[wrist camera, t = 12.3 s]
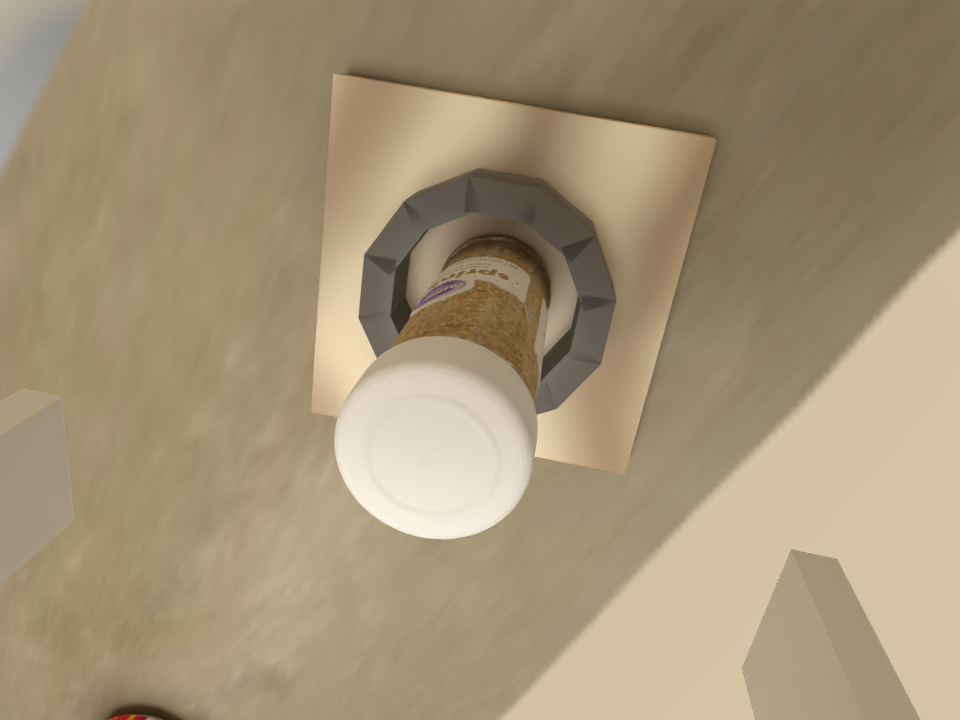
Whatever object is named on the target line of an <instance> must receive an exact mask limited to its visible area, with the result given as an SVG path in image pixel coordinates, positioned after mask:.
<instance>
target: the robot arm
mask: <svg viewBox="0 0 960 720" xmlns="http://www.w3.org/2000/svg"><path fill="white" fill-rule="evenodd" d="M74 520H75V516H74V506H73V496H72V486H71V476H70V467H69V457H68V447H67V437H66V427H65V417H64V407H63V397H62V396H57V395H52V394H48V393H43V392H38V391H33V390H28V389H24V388H23V389H21V390H19V391H18V392H16V393H14V394H12V395H10V396H9V397H7V398H5V399H3V400H2V401H0V585H1V584H2V583H3V582H5V581H6V580H7V579H8V578H9V577H10V576H11V575H13V574H14V573H15V572H16V571H17V570H18V569H19V568H21V567H22V566H23V565H24V564H25V563H26V562H27V561H29V560H30V559H31V558H32V557H33V556H34V555H35V554H37V553H38V552H39V551H40V550H41V549H42V548H43V547H45V546H46V545H47V544H48V543H49V542H50V541H51V540H53V539H54V538H55V537H56V536H57V535H58V534H59V533H61V532H62V531H63V530H64V529H65V528H66V527H67V526H68V525H70V524H71V523H72V522H73V521H74ZM742 670H743V674H744V678H745V682H746V685H747V689H748V693H749V697H750V701H751V704H752V708H753V712H754V716H755V720H920V718H919V716H918V714H917V712H916V711H915V709H914V707H913V705H912V703H911V701H910V699H909V697H908V695H907V693H906V691H905V689H904V687H903V685H902V683H901V682H900V680H899V678H898V676H897V674H896V672H895V670H894V668H893V666H892V664H891V662H890V660H889V658H888V656H887V655H886V653H885V651H884V649H883V647H882V645H881V643H880V641H879V639H878V637H877V635H876V633H875V631H874V629H873V627H872V626H871V624H870V622H869V620H868V618H867V616H866V614H865V612H864V611H863V608H862V606H861V604H860V602H859V600H858V599H857V597H856V595H855V593H854V591H853V589H852V587H851V585H850V583H849V581H848V579H847V577H846V576H845V573H844V572H843V570H842V568H841V566H840V564H839V562H838V560H837V559H834V558H829V557H825V556H820V555H815V554H810V553H806V552H800V551H796V550H791V551H790V553H789V556H788V558H787V561H786V563H785V565H784V568H783V570H782V573H781V575H780V578H779V580H778V583H777V585H776V587H775V590H774V592H773V594H772V597H771V599H770V602H769V604H768V607H767V609H766V611H765V614H764V616H763V619H762V621H761V624H760V626H759V628H758V631H757V633H756V636H755V638H754V640H753V643H752V645H751V648H750V650H749V652H748V655H747V657H746V660H745V662H744V664H743V667H742Z"/></svg>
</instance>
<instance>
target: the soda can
mask: <svg viewBox="0 0 960 720" xmlns="http://www.w3.org/2000/svg"><path fill="white" fill-rule="evenodd" d="M108 720H164V719H161V718H158V717H155V716H151V715H119V716H115V717H112V718H110V719H108Z"/></svg>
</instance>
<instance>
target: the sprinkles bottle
mask: <svg viewBox="0 0 960 720" xmlns="http://www.w3.org/2000/svg"><path fill="white" fill-rule="evenodd" d="M550 301H551V281H550V278H549V275H548V272H547V269H546V267H545V265H544V263H543V261H542V260H541V258H540V257H539V256H538V255H537V254H536V253H535V252H534V251H533V250H532V249H530V248H529V247H528V246H526V245H524V244H522V243H521V242H519V241H516V240H514V239H513V238H508V237H504V236H486V237H479V238H475V239H471V240H469V241H468V242H466V243H464V244H461V245H460V246H459V247H458V248H457V249H456V250H455V251H454V252H453V253H452V254H451V255H450V256H449V258H448V259H447V260H446V262H445V264H444V266H443V268H442V270H441V273H440V274H439V275H438V276H437V277H436V279H435V280H434V281H433V282H432V284H431V285H430V287H429V288H428V290H427V291H426V293H425V294H424V296H423V297H422V298H421V300H420V301H419V303H418V304H417V306H416V307H415V309H414V310H413V311H412V313H411V315H410V318H409V320H408V322H407V323H406V325H405V326H404V328H403V330H402V331H401V332H400V334H399V336H398V337H397V339H396V340H395V342H394V343H393V345H392V347H391V348H390V349H389V350H387V351H386V352H384V353H383V354H381V355H380V356H379V357H378V358H377V359H376V360H375V361H374V362H373V363H372V364H371V365H370V366H369V367H368V368H367V369H366V371H365V372H364V373H363V375H362V376H361V378H360V379H359V380H358V382H357V383H356V385H355V386H354V388H353V389H352V391H351V392H350V394H349V396H348V397H347V399H346V400H345V402H344V404H343V406H342V408H341V411H340V414H339V416H338V419H337V423H336V427H335V441H334V445H335V455H336V460H337V464H338V467H339V470H340V473H341V475H342V477H343V479H344V481H345V484H346V485H347V487H348V488H349V490H350V492H351V493H352V494H353V496H354V497H355V498H356V500H357V501H358V502H359V503H360V504H361V505H362V506H363V507H364V508H365V509H366V510H367V511H368V512H370V513H371V514H372V515H373V516H375V517H376V518H378V519H379V520H380V521H382V522H384V523H385V524H387V525H389V526H391V527H393V528H395V529H397V530H399V531H402V532H404V533H407V534H411V535H414V536H418V537H424V538H432V539H455V538H460V537H465V536H470V535H473V534H476V533H479V532H482V531H484V530H486V529H488V528H490V527H491V526H493V525H495V524H496V523H498V522H499V521H500V520H502V519H503V518H504V517H505V516H507V515H508V514H509V513H510V512H511V511H512V510H513V509H514V508H515V506H516V505H517V503H518V502H519V501H520V499H521V498H522V496H523V494H524V492H525V490H526V488H527V486H528V483H529V481H530V477H531V473H532V468H533V462H534V457H535V451H536V444H537V434H538V423H537V415H536V410H535V405H534V403H535V397H536V394H537V391H538V388H539V384H540V378H541V371H542V363H543V355H544V346H545V336H546V328H547V310H548V308H549V306H550Z"/></svg>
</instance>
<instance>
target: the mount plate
mask: <svg viewBox="0 0 960 720" xmlns="http://www.w3.org/2000/svg"><path fill="white" fill-rule="evenodd" d="M716 142H717V139H716V138H714V137H711V136H707V135H701V134H696V133H690V132H684V131H678V130H672V129H666V128H660V127H654V126H649V125H643V124H637V123H631V122H625V121H619V120H613V119H607V118H602V117H596V116H590V115H584V114H578V113H572V112H566V111H560V110H554V109H549V108H543V107H537V106H531V105H525V104H519V103H513V102H507V101H502V100H496V99H490V98H484V97H478V96H472V95H466V94H460V93H455V92H449V91H443V90H437V89H431V88H425V87H419V86H413V85H407V84H402V83H396V82H390V81H384V80H378V79H372V78H366V77H360V76H355V75H349V74H333V84H332V100H331V115H330V130H329V145H328V161H327V176H326V191H325V206H324V221H323V237H322V252H321V267H320V282H319V298H318V313H317V328H316V343H315V358H314V374H313V389H312V404H311V412H315V413H320V414H325V415H330V416H335V417H338V416H339V414H340V411H341V408H342V406H343V404H344V402H345V400H346V399H347V397H348V396H349V394H350V392H351V391H352V389H353V388H354V386H355V385H356V383H357V382H358V380H359V379H360V378H361V376H362V375H363V373H364V372H365V371H366V369H367V368H368V367H369V366H370V365H371V364H372V363H373V362H374V361H375V360H376V359H377V358H378V357H379V356H380V355H381V354H383V353H384V352H386V351H387V350H389V349H390V348H391V347H392V345H393V343H394V342H395V340H396V339H397V337H398V336H399V334H400V332H401V331H402V330H403V328H404V326H405V325H406V323H407V322H408V320H409V318H410V315H411V313H412V311H413V310H414V309H415V307H416V306H417V304H418V303H419V301H420V300H421V298H422V297H423V296H424V294H425V293H426V291H427V290H428V288H429V287H430V285H431V284H432V282H433V281H434V280H435V279H436V277H437V276H438V275H439V274H440V273H441V270H442V268H443V266H444V264H445V262H446V260H447V259H448V258H449V256H450V255H451V254H452V253H453V252H454V251H455V250H456V249H457V248H458V247H459V246H460V245H461V244H464V243H466V242H468V241H469V240H471V239H475V238H479V237H486V236H504V237H508V238H513V239H514V240H516V241H519V242H521V243H522V244H524V245H526V246H528V247H529V248H530V249H532V250H533V251H534V252H535V253H536V254H537V255H538V256H539V257H540V258H541V260H542V261H543V263H544V265H545V267H546V269H547V272H548V275H549V278H550V281H551V301H550V306H549V308H548V310H547V328H546V336H545V346H544V355H543V363H542V371H541V378H540V384H539V388H538V391H537V394H536V397H535V403H534V405H535V410H536V415H537V423H538V434H537V444H536V451H535V457H540V458H545V459H550V460H555V461H560V462H565V463H570V464H575V465H580V466H585V467H590V468H595V469H600V470H605V471H610V472H615V473H620V474H625V472H626V468H627V465H628V461H629V457H630V454H631V450H632V446H633V443H634V439H635V436H636V432H637V428H638V425H639V421H640V417H641V414H642V410H643V406H644V403H645V399H646V396H647V392H648V388H649V385H650V381H651V377H652V374H653V370H654V367H655V363H656V359H657V356H658V352H659V348H660V345H661V341H662V338H663V334H664V330H665V327H666V323H667V319H668V316H669V312H670V309H671V305H672V301H673V298H674V294H675V290H676V287H677V283H678V280H679V276H680V272H681V269H682V265H683V261H684V258H685V254H686V251H687V247H688V243H689V240H690V236H691V232H692V229H693V225H694V221H695V218H696V214H697V211H698V207H699V203H700V200H701V196H702V192H703V189H704V185H705V182H706V178H707V174H708V171H709V167H710V163H711V160H712V156H713V153H714V149H715V145H716Z"/></svg>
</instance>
